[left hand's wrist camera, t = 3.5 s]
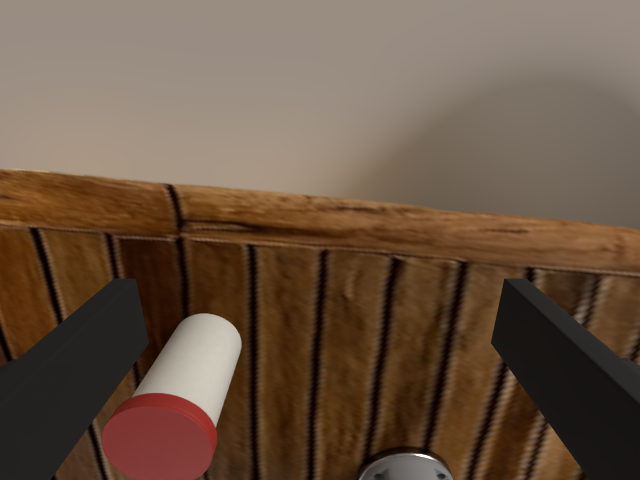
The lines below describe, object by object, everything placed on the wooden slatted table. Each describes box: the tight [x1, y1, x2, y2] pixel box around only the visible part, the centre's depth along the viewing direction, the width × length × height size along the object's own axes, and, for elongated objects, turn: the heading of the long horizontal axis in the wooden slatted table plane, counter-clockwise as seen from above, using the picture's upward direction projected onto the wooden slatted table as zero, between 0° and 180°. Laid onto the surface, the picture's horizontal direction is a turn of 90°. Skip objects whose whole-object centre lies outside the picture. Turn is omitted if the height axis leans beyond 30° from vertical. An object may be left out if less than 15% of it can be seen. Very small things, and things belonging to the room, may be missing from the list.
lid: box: [101, 393, 217, 480], centre depth 33 cm, size 10×10×2 cm
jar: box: [132, 314, 241, 428], centre depth 40 cm, size 9×9×15 cm
